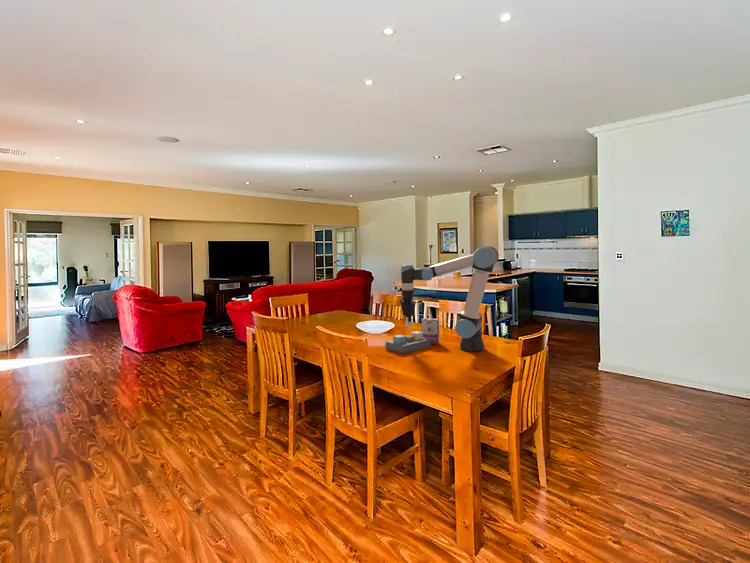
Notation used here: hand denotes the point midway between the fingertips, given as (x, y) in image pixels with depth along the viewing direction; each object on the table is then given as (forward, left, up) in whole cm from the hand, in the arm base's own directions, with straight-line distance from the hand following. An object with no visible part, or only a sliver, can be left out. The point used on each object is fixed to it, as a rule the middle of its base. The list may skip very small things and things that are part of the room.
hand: (408, 326), depth 254 cm
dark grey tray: (0, 0, -14) cm, 14 cm away
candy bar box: (-1, -19, -14) cm, 24 cm away
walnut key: (0, 0, -11) cm, 11 cm away
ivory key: (0, -7, -9) cm, 12 cm away
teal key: (0, +8, -9) cm, 12 cm away
